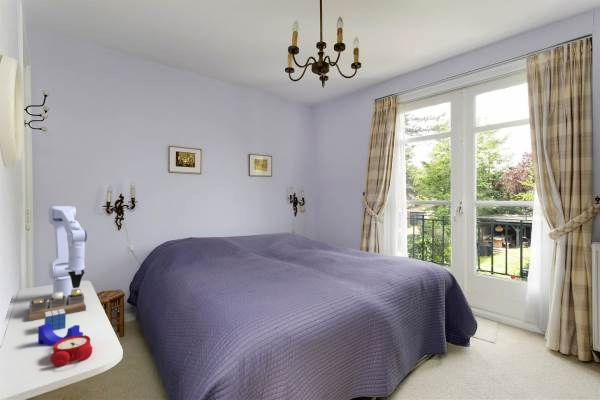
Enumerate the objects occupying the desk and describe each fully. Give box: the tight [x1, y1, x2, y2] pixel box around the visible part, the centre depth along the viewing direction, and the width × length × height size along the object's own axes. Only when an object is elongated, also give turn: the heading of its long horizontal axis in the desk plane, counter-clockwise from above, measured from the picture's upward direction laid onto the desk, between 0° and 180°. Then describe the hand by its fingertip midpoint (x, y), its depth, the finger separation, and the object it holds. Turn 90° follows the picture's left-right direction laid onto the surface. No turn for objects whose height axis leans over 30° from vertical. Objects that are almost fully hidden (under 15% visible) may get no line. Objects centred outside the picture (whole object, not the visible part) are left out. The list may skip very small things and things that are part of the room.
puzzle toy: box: [44, 309, 67, 332], centre depth 112 cm, size 6×6×6 cm
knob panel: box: [28, 292, 87, 322], centre depth 129 cm, size 16×18×5 cm
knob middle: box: [52, 292, 63, 300], centre depth 129 cm, size 3×3×3 cm
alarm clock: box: [50, 334, 93, 367], centre depth 93 cm, size 10×6×15 cm
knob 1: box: [32, 298, 45, 304], centre depth 125 cm, size 3×3×3 cm
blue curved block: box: [37, 323, 84, 346], centre depth 101 cm, size 12×4×6 cm, turn 85°
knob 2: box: [71, 288, 82, 297], centre depth 133 cm, size 3×3×3 cm
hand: (75, 287), depth 133 cm, fingers closed
